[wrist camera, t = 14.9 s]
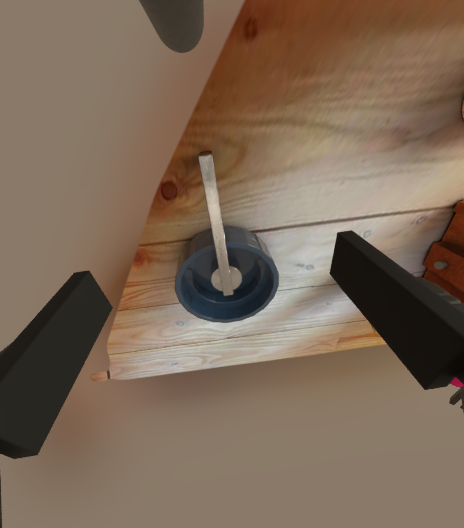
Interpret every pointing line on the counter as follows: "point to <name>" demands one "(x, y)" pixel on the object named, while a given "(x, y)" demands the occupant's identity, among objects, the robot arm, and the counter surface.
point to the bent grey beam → (218, 232)
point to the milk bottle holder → (449, 257)
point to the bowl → (244, 296)
